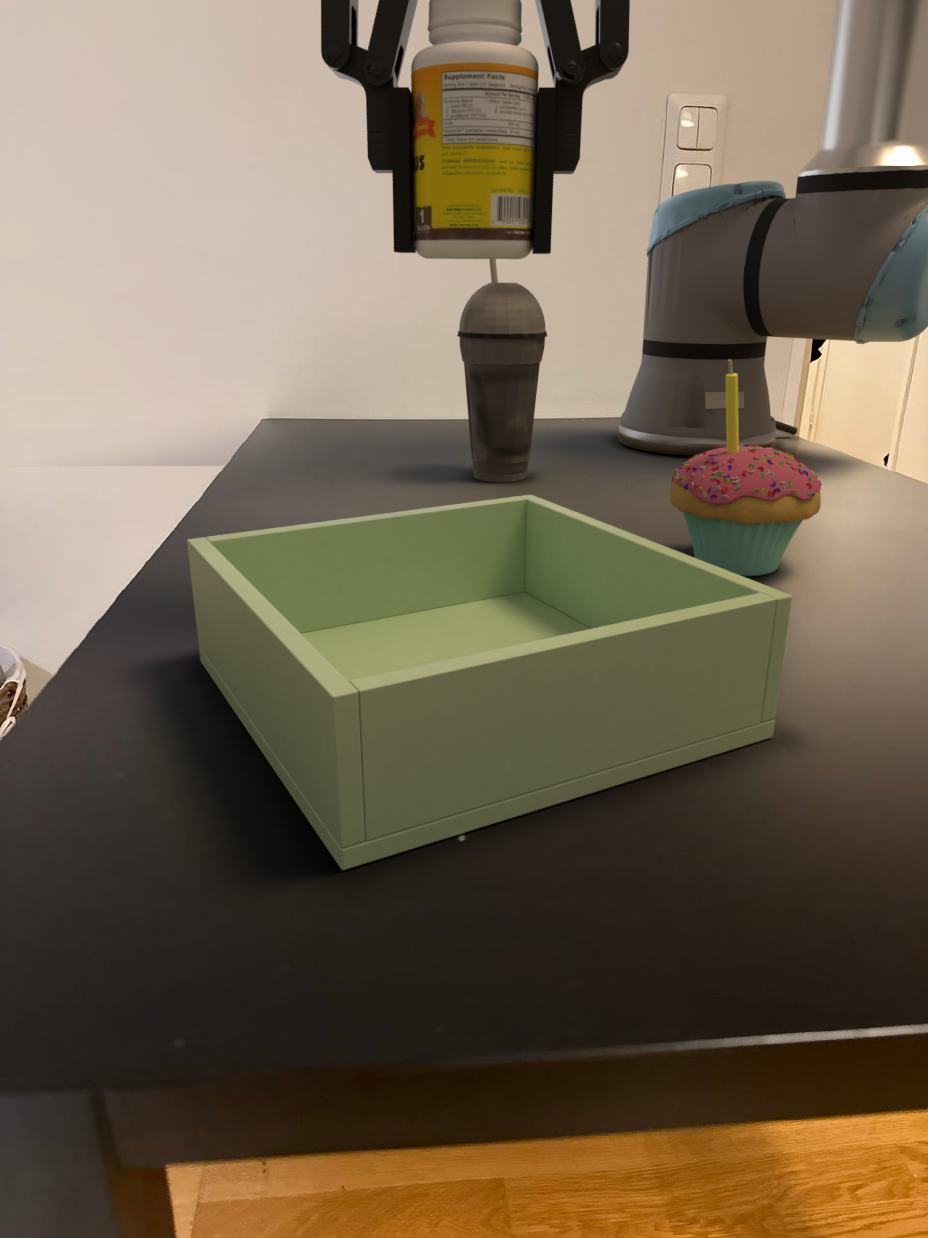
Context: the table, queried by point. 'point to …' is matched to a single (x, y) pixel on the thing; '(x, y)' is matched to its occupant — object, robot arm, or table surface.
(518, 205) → the supplement bottle
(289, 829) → the table surface
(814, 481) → the cupcake
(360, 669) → the tote
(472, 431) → the beverage cup
